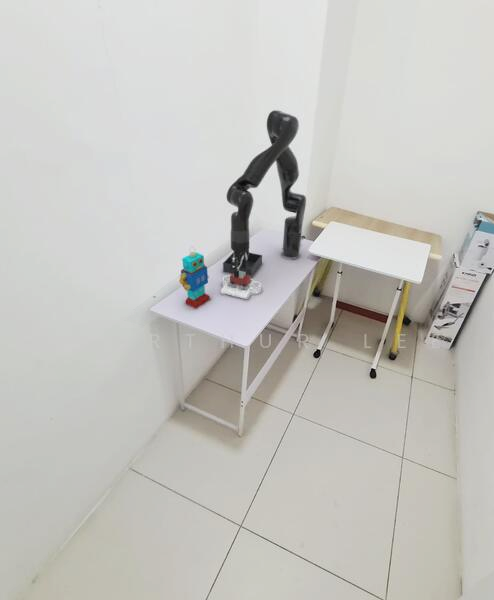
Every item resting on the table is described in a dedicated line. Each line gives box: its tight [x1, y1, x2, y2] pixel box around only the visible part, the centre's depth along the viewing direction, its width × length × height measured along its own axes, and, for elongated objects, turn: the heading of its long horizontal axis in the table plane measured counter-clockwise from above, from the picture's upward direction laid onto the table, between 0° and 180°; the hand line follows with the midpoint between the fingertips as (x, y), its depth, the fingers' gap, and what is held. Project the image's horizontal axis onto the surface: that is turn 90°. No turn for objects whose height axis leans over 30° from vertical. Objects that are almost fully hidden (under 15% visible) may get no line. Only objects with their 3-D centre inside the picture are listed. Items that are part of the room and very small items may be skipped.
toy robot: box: [179, 246, 211, 309], centre depth 132 cm, size 12×6×25 cm, turn 148°
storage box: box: [222, 251, 263, 278], centre depth 163 cm, size 15×14×5 cm
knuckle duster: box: [220, 274, 262, 300], centre depth 148 cm, size 3×18×15 cm
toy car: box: [230, 271, 252, 287], centre depth 145 cm, size 8×4×5 cm, turn 75°
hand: (240, 272), depth 144 cm, fingers open, 8 cm apart
